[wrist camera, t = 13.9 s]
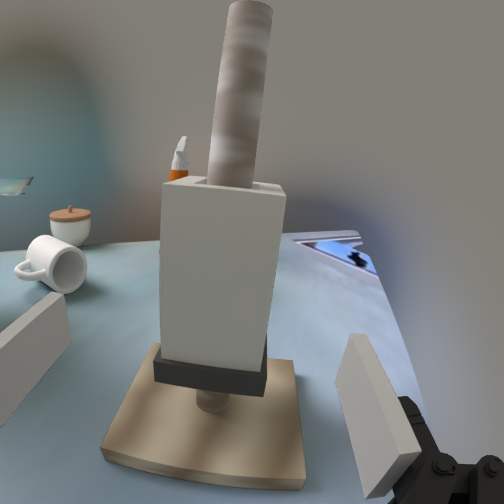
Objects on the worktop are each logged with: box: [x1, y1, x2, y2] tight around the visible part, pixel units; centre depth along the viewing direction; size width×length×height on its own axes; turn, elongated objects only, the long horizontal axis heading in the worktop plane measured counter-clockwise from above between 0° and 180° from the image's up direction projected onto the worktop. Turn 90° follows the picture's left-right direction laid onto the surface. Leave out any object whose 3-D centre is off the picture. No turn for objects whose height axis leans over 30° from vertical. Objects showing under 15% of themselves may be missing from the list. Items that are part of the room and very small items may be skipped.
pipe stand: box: [100, 0, 306, 490], centre depth 22 cm, size 16×16×34 cm
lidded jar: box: [50, 206, 91, 247], centre depth 66 cm, size 11×11×9 cm
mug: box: [14, 235, 87, 294], centre depth 44 cm, size 12×10×8 cm
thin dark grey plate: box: [153, 333, 267, 397], centre depth 24 cm, size 8×8×2 cm
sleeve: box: [159, 176, 286, 372], centre depth 22 cm, size 7×7×12 cm
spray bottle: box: [159, 136, 188, 253], centre depth 67 cm, size 7×11×26 cm, turn 6°
